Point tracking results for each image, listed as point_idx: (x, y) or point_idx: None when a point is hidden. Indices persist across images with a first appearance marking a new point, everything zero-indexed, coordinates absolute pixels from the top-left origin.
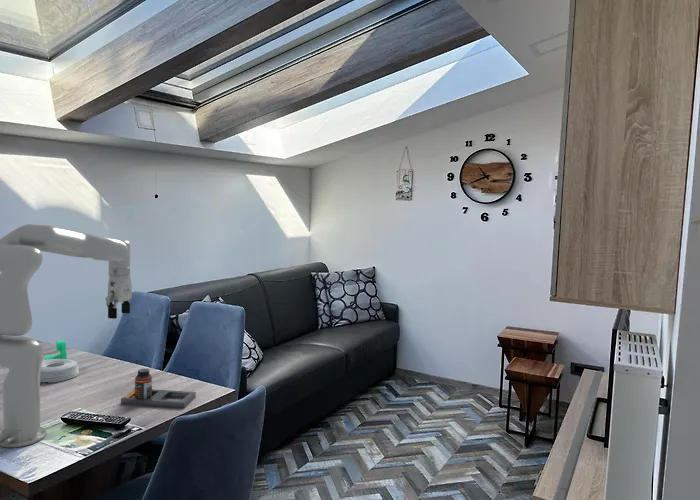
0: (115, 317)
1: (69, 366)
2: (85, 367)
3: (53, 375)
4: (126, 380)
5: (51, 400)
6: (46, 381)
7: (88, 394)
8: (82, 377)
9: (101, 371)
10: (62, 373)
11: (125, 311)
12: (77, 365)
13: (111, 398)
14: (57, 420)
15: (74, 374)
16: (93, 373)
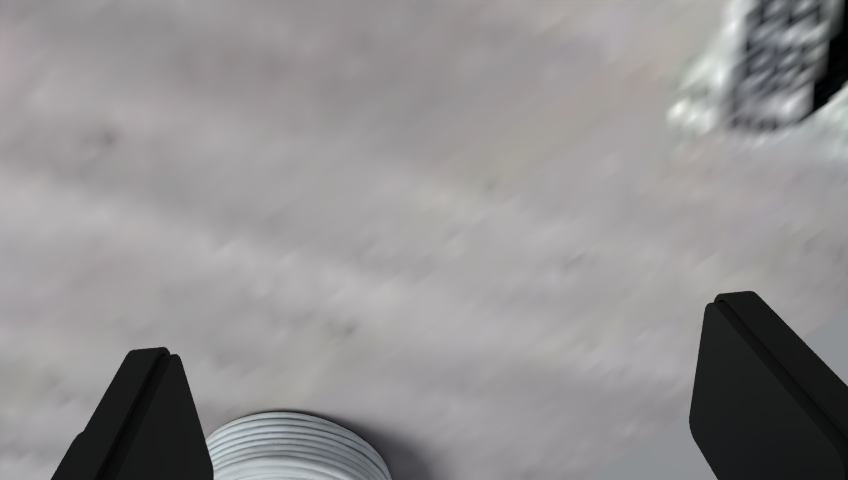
0: (755, 311)
1: (287, 471)
2: None
3: (371, 471)
4: (199, 132)
5: (590, 306)
6: (387, 469)
7: (480, 196)
8: (254, 380)
9: None
10: (337, 454)
11: (184, 437)
12: None
13: (515, 29)
14: (843, 112)
15: (271, 422)
16: None
